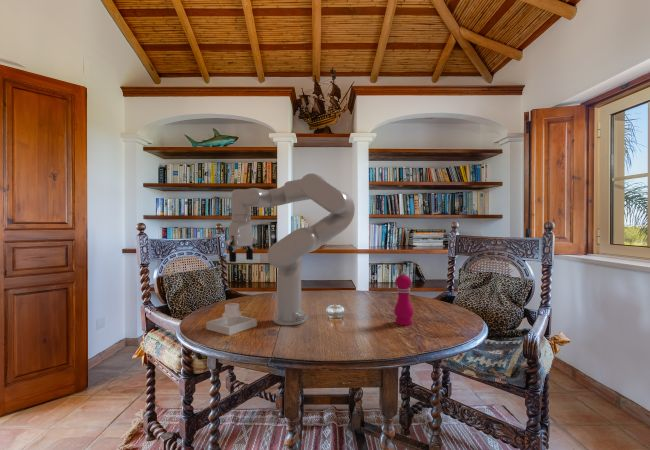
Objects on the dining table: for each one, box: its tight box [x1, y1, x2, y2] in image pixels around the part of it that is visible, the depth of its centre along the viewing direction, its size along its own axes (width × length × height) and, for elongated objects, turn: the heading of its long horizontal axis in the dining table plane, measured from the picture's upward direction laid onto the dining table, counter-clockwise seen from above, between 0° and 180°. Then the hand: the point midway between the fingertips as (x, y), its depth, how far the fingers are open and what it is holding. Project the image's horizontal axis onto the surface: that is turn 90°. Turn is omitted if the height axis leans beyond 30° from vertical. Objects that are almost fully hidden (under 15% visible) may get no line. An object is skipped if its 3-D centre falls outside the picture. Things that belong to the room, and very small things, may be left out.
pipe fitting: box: [221, 302, 243, 327], centre depth 128 cm, size 6×7×8 cm
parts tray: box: [205, 315, 258, 336], centre depth 128 cm, size 13×13×3 cm
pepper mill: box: [393, 270, 414, 326], centre depth 131 cm, size 7×7×20 cm
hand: (241, 260), depth 141 cm, fingers open, 9 cm apart
